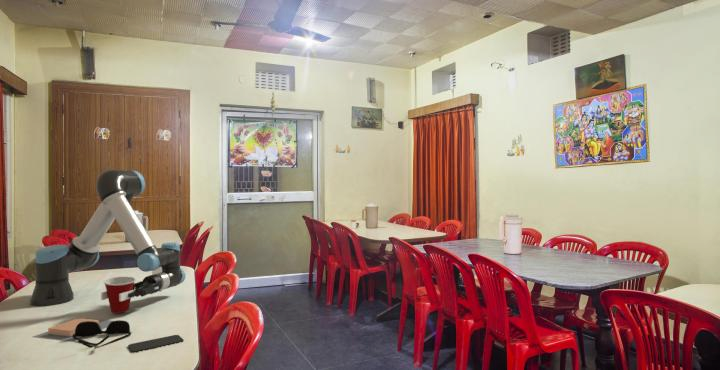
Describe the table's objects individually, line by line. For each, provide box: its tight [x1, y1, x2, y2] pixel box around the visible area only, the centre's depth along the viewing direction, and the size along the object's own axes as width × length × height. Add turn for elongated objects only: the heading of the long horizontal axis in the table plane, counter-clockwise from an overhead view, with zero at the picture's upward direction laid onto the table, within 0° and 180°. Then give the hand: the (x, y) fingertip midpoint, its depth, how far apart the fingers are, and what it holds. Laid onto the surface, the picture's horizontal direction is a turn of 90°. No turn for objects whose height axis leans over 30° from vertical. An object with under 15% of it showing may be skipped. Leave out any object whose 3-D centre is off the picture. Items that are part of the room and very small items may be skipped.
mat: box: [32, 317, 113, 343], centre depth 146 cm, size 16×20×1 cm
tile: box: [47, 317, 99, 337], centre depth 144 cm, size 9×2×11 cm
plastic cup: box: [103, 276, 137, 314], centre depth 164 cm, size 11×11×12 cm
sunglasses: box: [73, 319, 132, 348], centre depth 134 cm, size 17×14×5 cm
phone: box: [127, 334, 184, 353], centre depth 134 cm, size 7×1×15 cm
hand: (111, 297), depth 159 cm, fingers closed on plastic cup, 8 cm apart
